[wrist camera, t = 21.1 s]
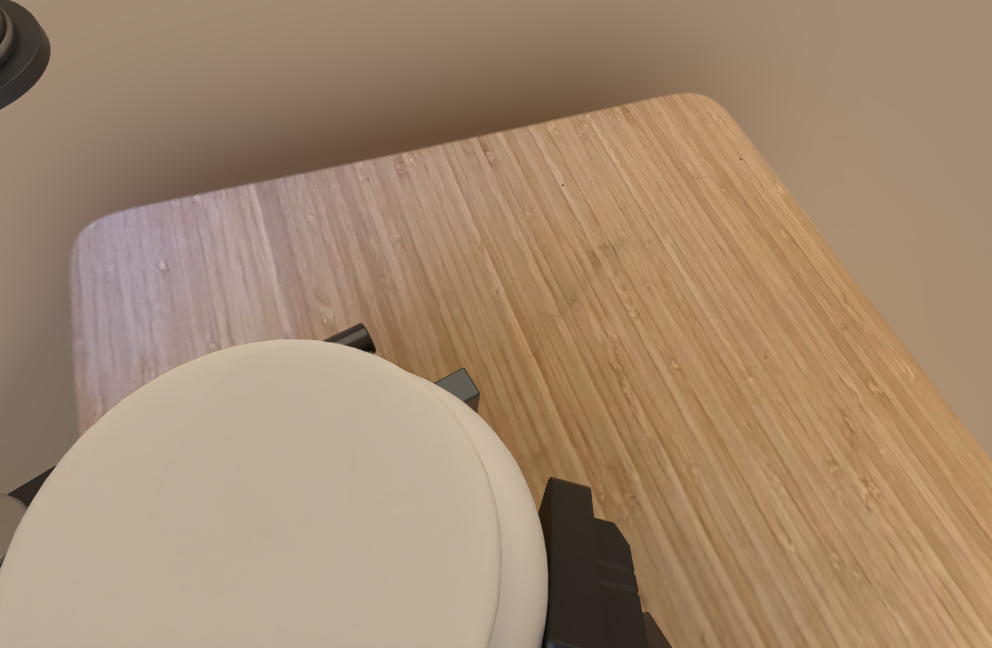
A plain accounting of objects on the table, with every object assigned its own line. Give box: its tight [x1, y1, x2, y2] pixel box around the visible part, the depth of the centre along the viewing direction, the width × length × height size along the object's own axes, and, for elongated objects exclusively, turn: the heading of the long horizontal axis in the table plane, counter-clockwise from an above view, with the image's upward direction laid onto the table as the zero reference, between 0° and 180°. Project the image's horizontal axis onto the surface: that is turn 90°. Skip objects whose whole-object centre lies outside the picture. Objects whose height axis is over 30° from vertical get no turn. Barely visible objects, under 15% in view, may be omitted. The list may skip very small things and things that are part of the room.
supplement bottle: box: [0, 340, 548, 648], centre depth 9 cm, size 6×6×10 cm
